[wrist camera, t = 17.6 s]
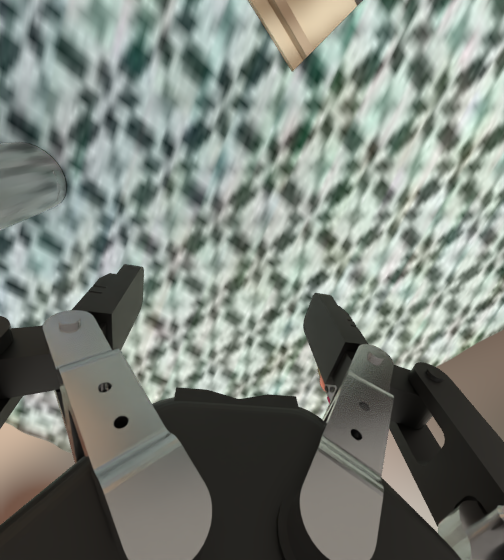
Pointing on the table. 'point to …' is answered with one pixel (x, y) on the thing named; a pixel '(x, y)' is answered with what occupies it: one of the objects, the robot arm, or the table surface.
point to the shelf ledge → (301, 23)
